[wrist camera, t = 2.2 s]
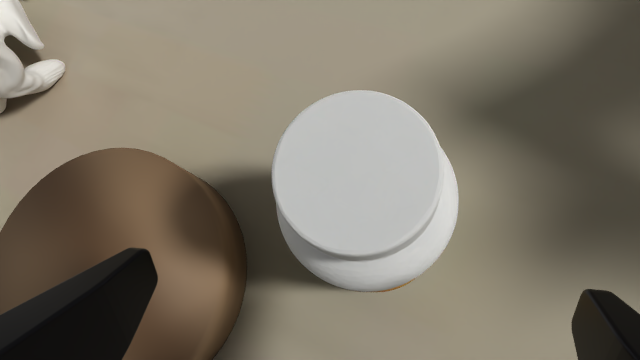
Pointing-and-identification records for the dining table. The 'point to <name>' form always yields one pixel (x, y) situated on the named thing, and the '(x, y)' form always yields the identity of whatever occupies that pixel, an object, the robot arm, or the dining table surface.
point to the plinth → (133, 245)
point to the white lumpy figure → (6, 68)
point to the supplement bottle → (364, 191)
